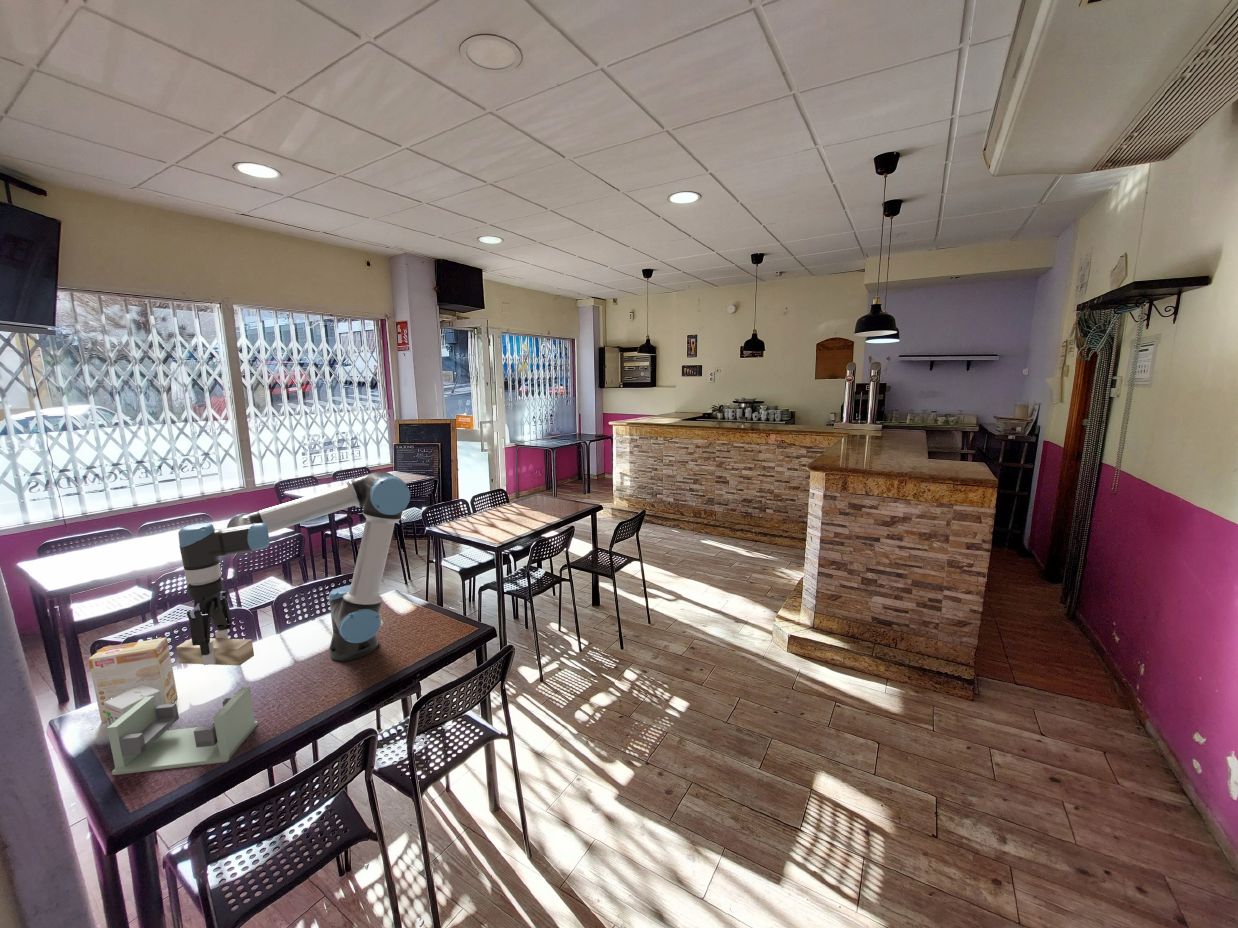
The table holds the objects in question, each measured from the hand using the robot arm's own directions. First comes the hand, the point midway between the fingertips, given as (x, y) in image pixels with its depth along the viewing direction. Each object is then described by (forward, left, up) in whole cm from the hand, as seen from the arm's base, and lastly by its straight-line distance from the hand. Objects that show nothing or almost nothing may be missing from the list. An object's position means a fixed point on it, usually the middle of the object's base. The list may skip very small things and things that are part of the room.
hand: (217, 657), depth 141 cm
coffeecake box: (+25, -5, -17) cm, 31 cm away
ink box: (+17, +7, -17) cm, 25 cm away
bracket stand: (0, +15, -17) cm, 22 cm away
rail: (0, 0, -1) cm, 1 cm away
